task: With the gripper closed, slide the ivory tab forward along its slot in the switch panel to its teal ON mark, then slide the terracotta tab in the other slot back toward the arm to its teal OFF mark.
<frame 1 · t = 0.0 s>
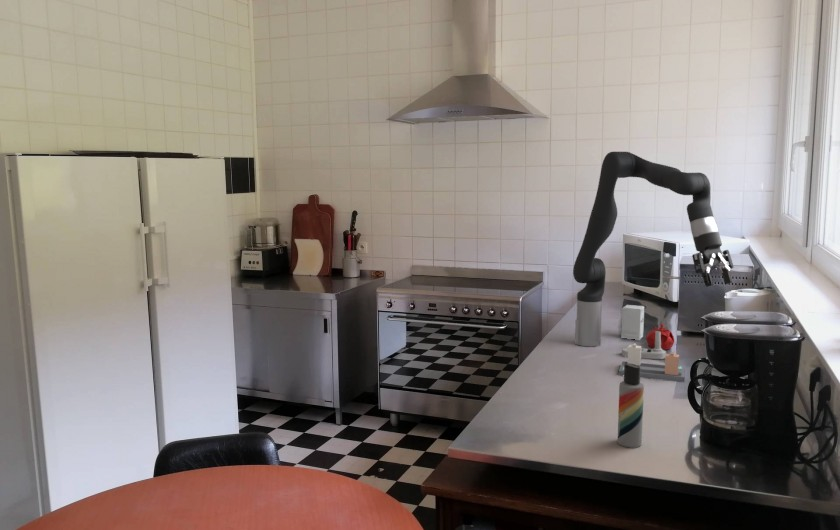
hand: (719, 284, 204), 31 cm above the table, tool tilted 20°, fingers open, 8 cm apart
terracotta tab: (671, 363, 214), point 5 cm above the table, slide at 10.0 cm
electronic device: (643, 357, 240), on the table
lotion bottle: (629, 444, 164), on the table
pomegranate: (659, 348, 251), on the table
supplement box: (632, 338, 267), on the table
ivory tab: (634, 354, 225), point 5 cm above the table, slide at 0.0 cm
switch panel: (652, 373, 220), on the table
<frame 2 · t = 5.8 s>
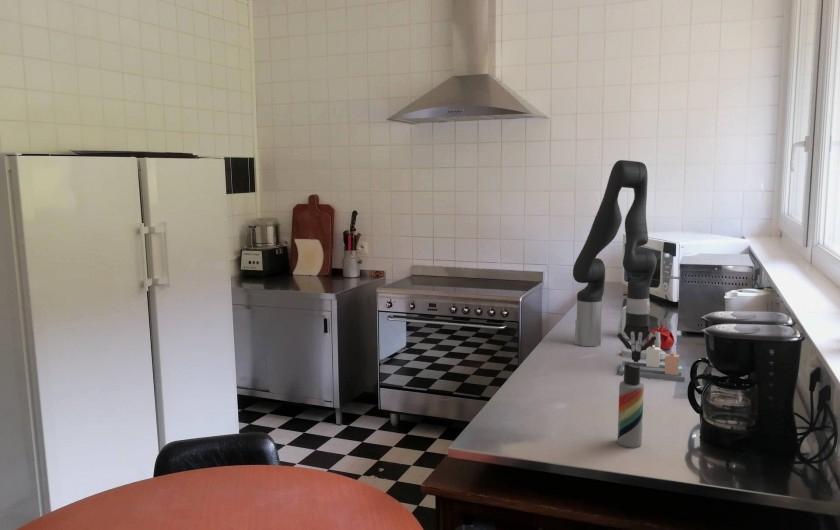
hand: (635, 361, 225), 3 cm above the table, tool pointing down, fingers closed
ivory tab: (653, 355, 223), point 5 cm above the table, slide at 6.0 cm, touching hand
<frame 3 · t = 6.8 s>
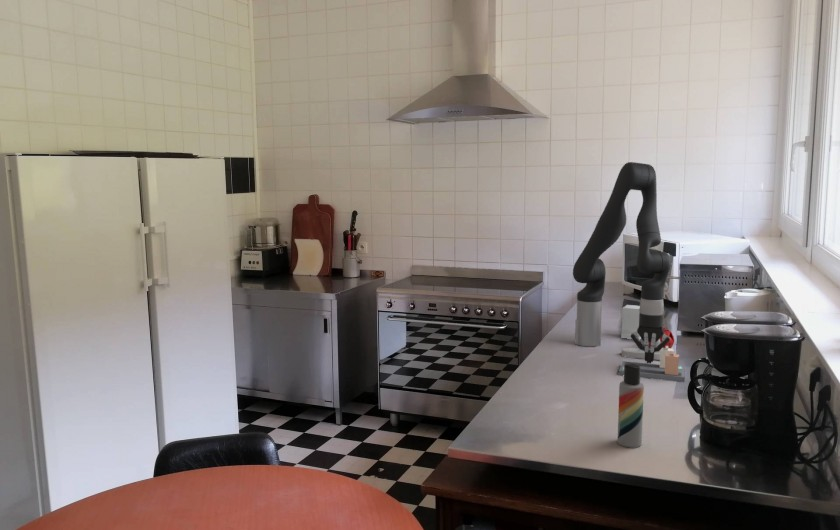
hand: (648, 362, 223), 3 cm above the table, tool pointing down, fingers closed
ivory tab: (666, 356, 221), point 5 cm above the table, slide at 10.1 cm, touching hand
everything else where it was.
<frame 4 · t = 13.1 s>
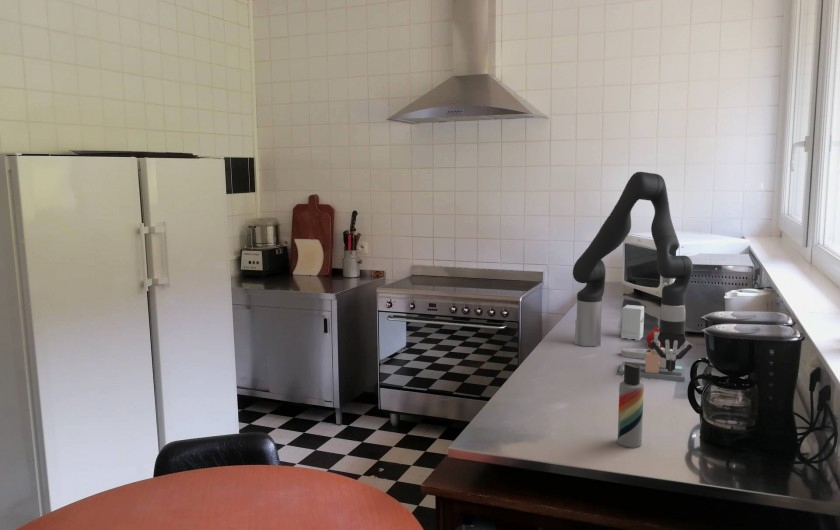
hand: (670, 370, 215), 2 cm above the table, tool pointing down, fingers closed
terracotta tab: (652, 361, 216), point 5 cm above the table, slide at 4.1 cm, touching hand
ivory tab: (666, 356, 221), point 5 cm above the table, slide at 10.0 cm
everything else where it was.
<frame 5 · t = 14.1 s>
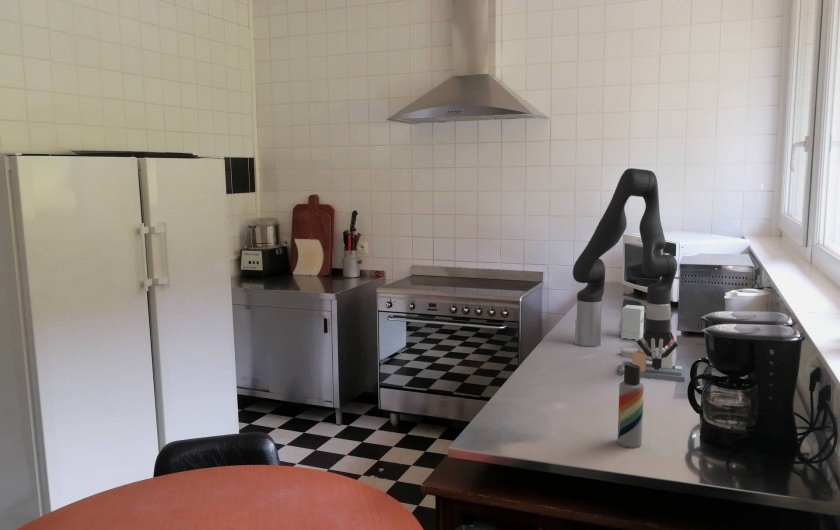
hand: (656, 369, 216), 3 cm above the table, tool pointing down, fingers closed
terracotta tab: (638, 360, 218), point 5 cm above the table, slide at -0.1 cm, touching hand
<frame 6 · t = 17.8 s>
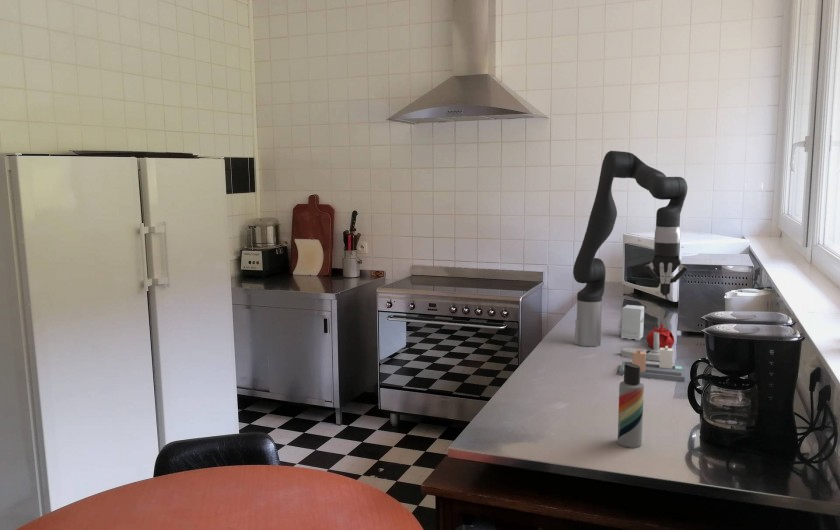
hand: (664, 295, 212), 27 cm above the table, tool pointing down, fingers closed
terracotta tab: (639, 360, 218), point 5 cm above the table, slide at 0.0 cm
at the end: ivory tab slide at 10.0 cm; terracotta tab slide at 0.0 cm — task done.
